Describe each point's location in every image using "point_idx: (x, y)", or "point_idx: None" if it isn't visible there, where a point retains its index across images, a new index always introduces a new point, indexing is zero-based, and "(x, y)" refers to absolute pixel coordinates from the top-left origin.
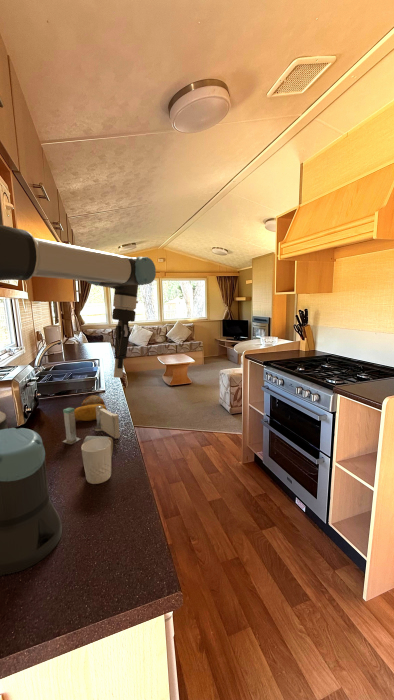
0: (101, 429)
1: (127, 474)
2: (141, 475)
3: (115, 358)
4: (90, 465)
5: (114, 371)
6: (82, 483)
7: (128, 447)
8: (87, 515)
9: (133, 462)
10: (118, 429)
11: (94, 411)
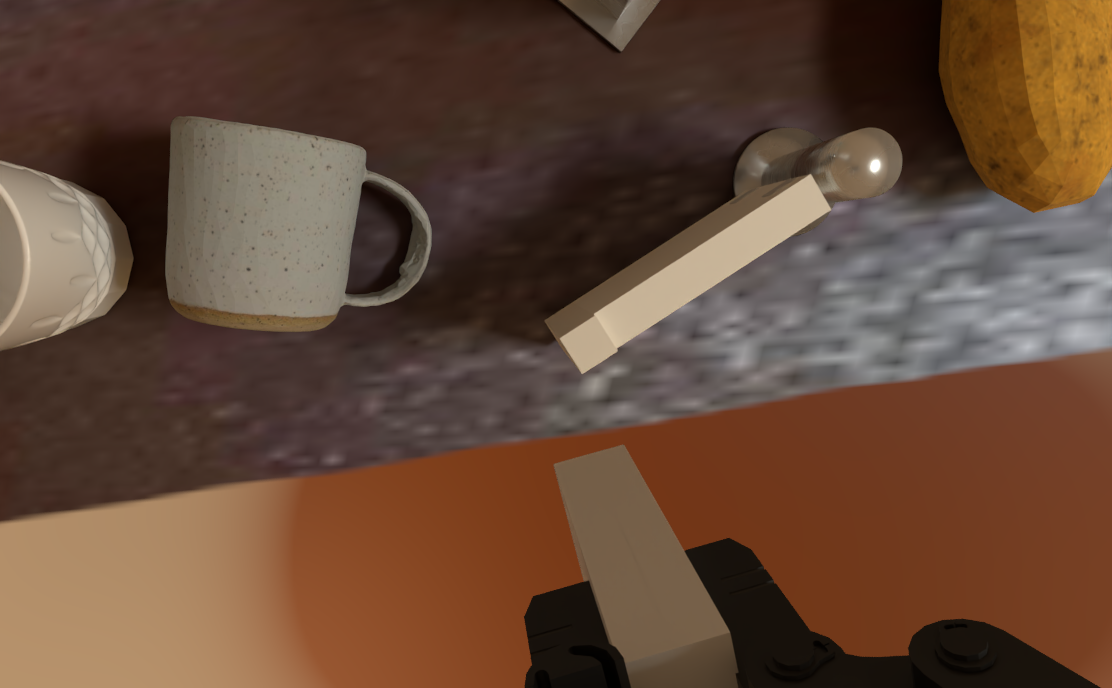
0: None
1: (59, 426)
2: (33, 509)
3: (541, 669)
4: None
5: (610, 493)
6: None
7: (412, 415)
8: None
9: (197, 457)
10: (564, 350)
11: (981, 104)
